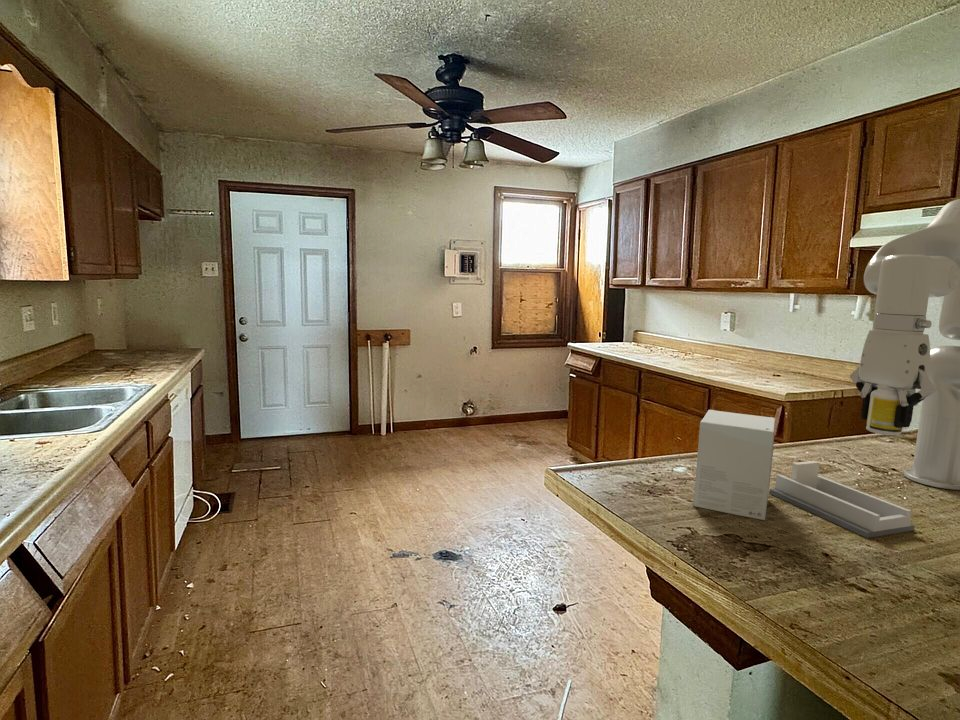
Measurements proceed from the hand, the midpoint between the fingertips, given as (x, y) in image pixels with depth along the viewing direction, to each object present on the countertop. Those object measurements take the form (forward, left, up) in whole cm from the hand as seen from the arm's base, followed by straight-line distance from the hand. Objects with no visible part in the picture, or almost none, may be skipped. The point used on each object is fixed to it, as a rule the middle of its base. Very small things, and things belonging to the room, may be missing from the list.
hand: (884, 421), depth 106 cm
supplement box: (+19, -16, -20) cm, 32 cm away
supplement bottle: (0, 0, -2) cm, 2 cm away
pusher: (+1, -15, -18) cm, 24 cm away
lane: (+1, -7, -20) cm, 21 cm away
